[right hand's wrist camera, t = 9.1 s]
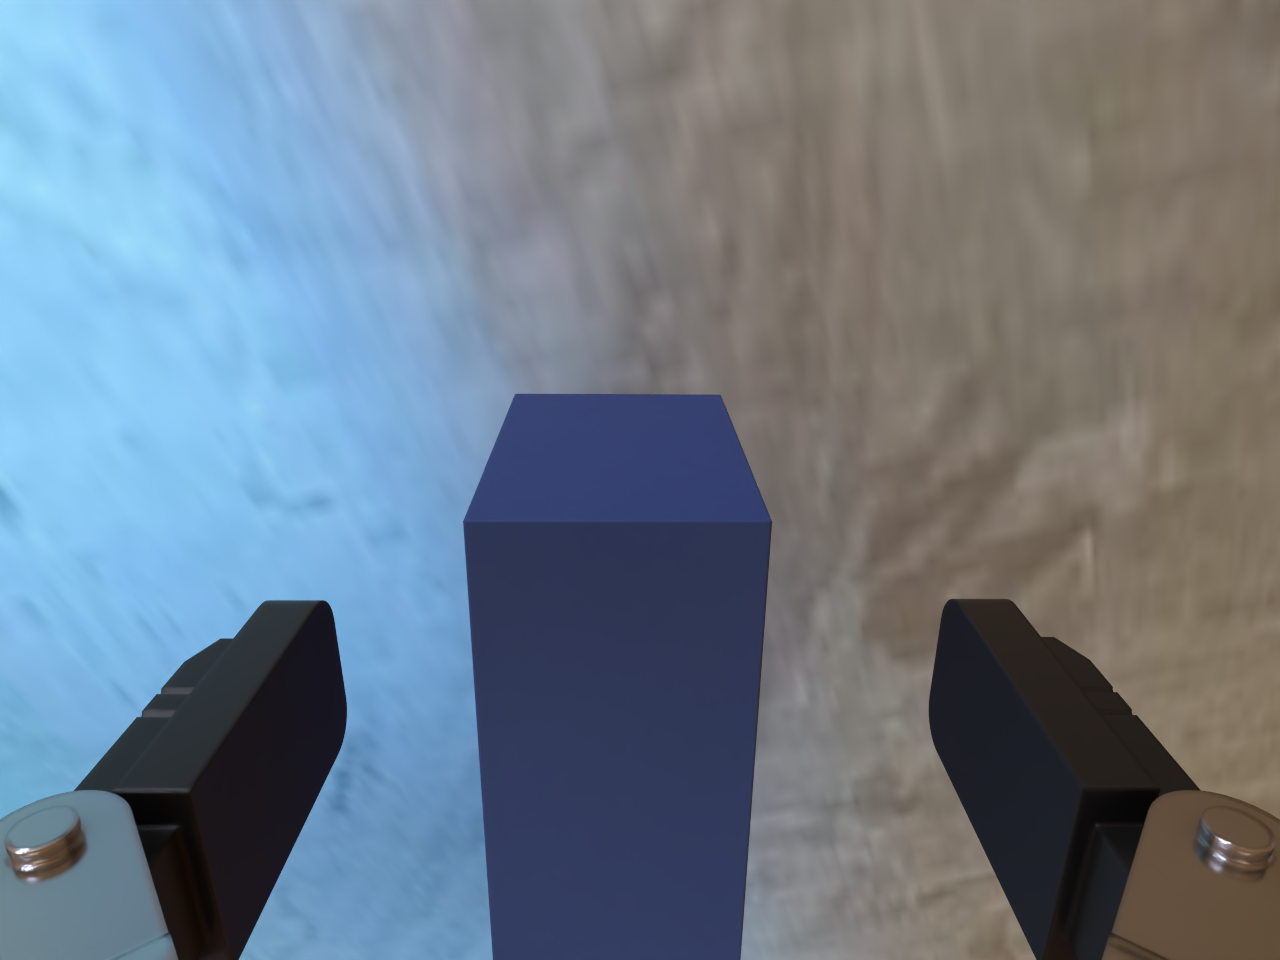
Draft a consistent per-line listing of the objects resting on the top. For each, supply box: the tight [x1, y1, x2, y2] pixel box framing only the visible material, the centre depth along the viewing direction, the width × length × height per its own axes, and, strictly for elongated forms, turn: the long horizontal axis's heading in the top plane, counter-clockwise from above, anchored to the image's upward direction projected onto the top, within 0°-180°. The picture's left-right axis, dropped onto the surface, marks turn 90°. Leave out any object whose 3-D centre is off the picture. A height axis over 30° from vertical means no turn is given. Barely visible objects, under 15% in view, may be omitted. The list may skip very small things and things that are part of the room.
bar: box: [463, 394, 772, 960], centre depth 24 cm, size 27×6×8 cm, turn 179°
